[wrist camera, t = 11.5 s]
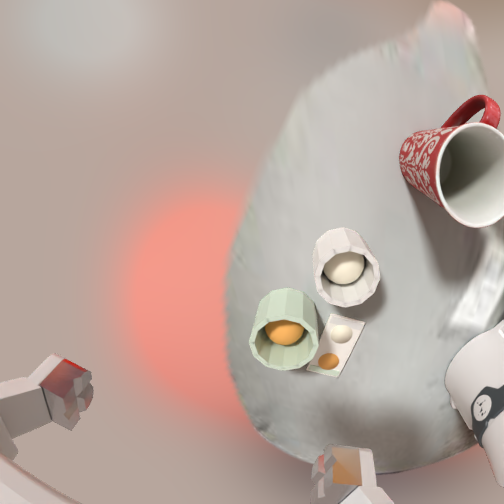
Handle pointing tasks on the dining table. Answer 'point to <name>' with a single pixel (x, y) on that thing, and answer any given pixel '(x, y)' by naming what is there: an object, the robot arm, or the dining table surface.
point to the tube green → (293, 309)
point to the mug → (460, 164)
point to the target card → (335, 345)
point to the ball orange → (284, 331)
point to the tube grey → (344, 268)
